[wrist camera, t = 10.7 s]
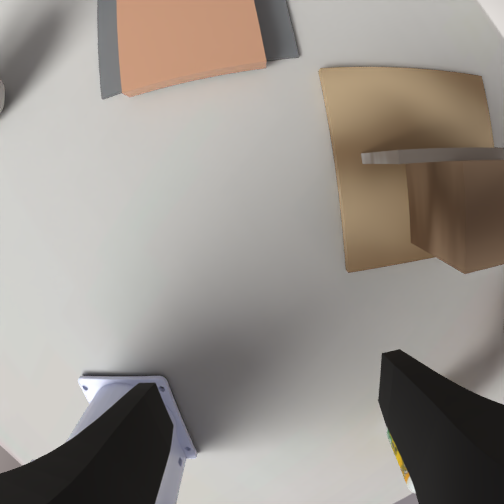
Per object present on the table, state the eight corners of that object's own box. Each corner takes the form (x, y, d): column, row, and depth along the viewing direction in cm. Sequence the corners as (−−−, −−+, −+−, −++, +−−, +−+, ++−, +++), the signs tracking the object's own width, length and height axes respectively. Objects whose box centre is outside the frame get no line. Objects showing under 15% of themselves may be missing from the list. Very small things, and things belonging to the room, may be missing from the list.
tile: (266, 61, 14) (246, -34, 13) (122, 93, 15) (116, -2, 13) (265, 69, 16) (246, -22, 14) (131, 97, 16) (124, 6, 14)
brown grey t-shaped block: (483, 230, 17) (541, 253, 12) (370, 249, 18) (415, 285, 12) (479, 148, 16) (541, 149, 10) (361, 153, 16) (408, 149, 11)
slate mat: (298, 57, 16) (298, 56, 15) (103, 99, 16) (101, 98, 16) (268, -58, 13) (268, -59, 13) (99, -17, 14) (98, -19, 14)
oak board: (492, 242, 18) (497, 244, 18) (345, 269, 19) (348, 272, 18) (476, 77, 15) (481, 76, 15) (318, 71, 16) (320, 68, 15)
